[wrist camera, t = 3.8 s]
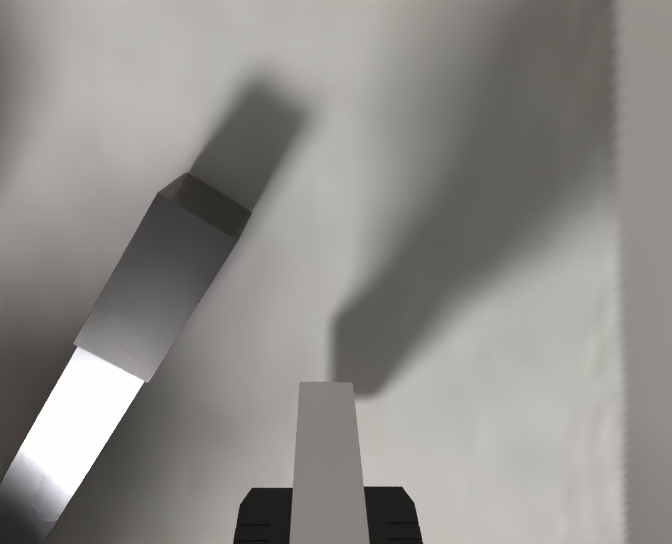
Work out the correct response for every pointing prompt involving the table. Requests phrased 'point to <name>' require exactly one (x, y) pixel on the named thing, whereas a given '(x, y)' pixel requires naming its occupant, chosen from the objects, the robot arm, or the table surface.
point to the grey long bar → (119, 349)
